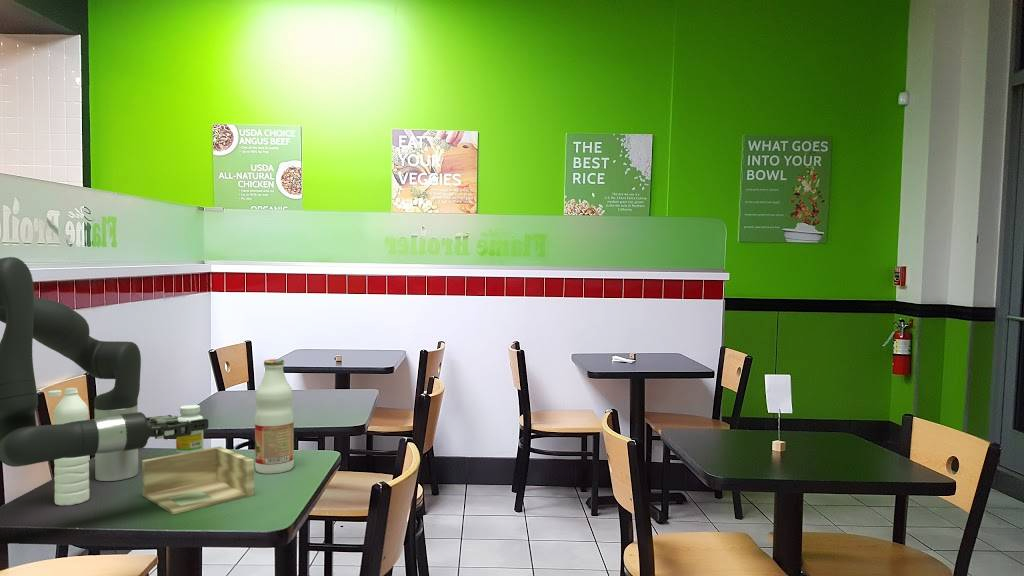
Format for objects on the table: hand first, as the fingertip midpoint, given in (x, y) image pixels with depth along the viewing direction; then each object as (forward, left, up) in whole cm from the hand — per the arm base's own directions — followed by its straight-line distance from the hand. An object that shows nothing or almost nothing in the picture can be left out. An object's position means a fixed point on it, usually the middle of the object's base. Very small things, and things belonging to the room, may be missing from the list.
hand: (201, 421), depth 155 cm
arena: (-3, 0, -17) cm, 17 cm away
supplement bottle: (0, -3, -6) cm, 7 cm away
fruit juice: (-10, +23, -17) cm, 30 cm away
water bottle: (-18, -21, -17) cm, 33 cm away
